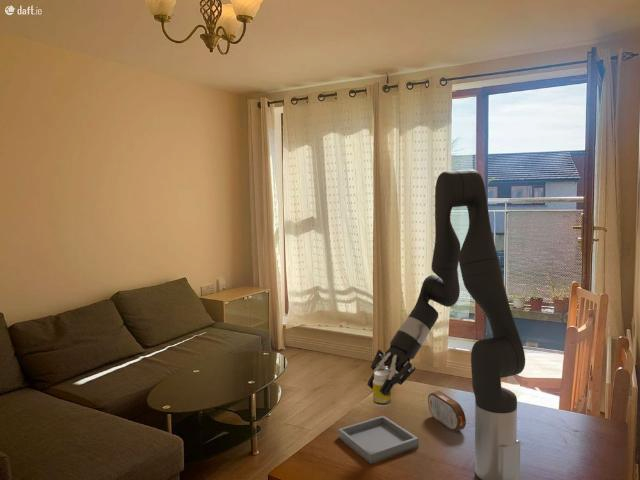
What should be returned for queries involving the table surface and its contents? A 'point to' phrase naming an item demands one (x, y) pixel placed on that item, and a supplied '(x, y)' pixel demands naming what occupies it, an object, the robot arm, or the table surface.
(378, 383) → the supplement bottle
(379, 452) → the tray
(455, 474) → the table surface
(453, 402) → the tin
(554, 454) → the table surface
